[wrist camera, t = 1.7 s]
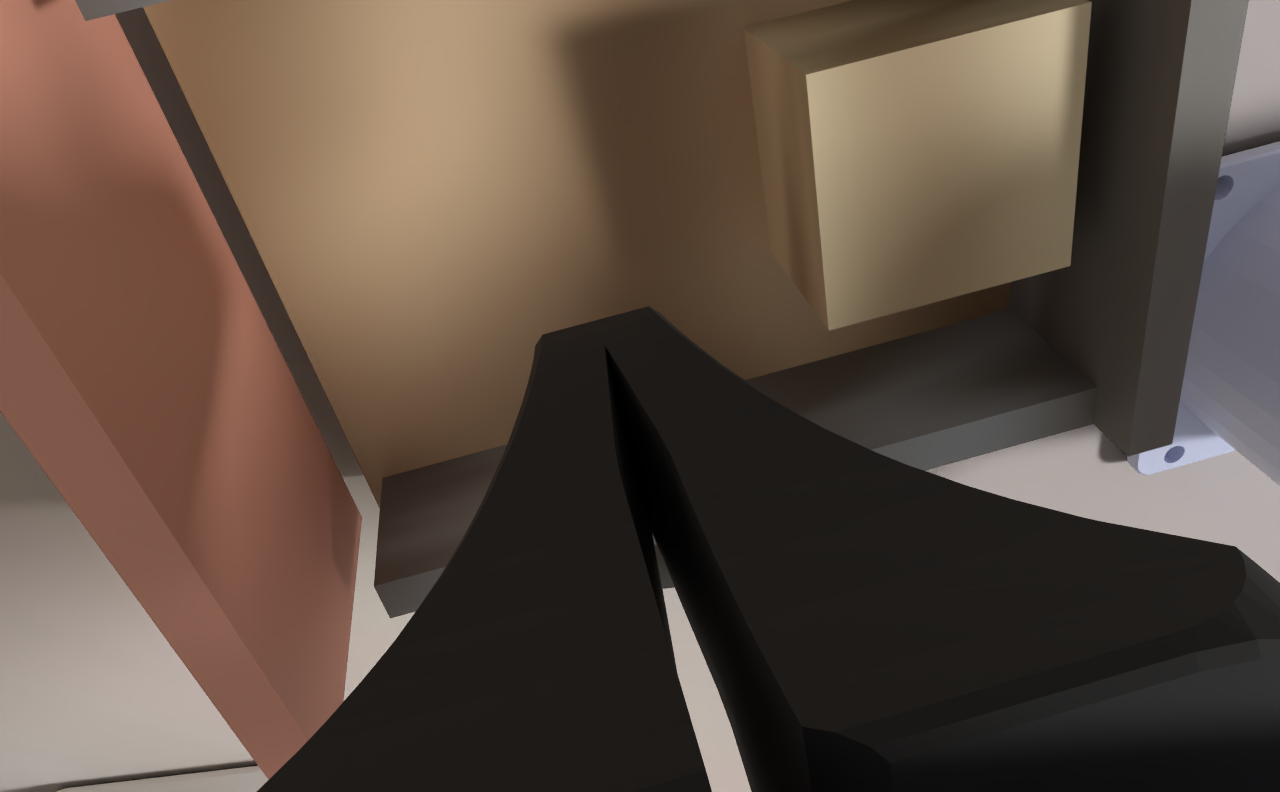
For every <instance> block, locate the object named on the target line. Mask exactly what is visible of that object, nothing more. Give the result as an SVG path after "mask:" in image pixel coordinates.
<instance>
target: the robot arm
mask: <svg viewBox="0 0 1280 792" xmlns="http://www.w3.org/2000/svg"><path fill="white" fill-rule="evenodd" d="M1219 177H1220V179H1219V181H1218V184H1217V187H1216V193H1215V199H1214V205H1213V211H1212V216H1211V222H1210V228H1209V234H1208V240H1207V245H1206V251H1205V257H1204V263H1203V269H1202V274H1201V280H1200V286H1199V292H1198V298H1197V303H1196V309H1195V315H1194V321H1193V327H1192V332H1191V338H1190V344H1189V350H1188V356H1187V361H1186V367H1185V373H1184V379H1183V385H1182V390H1181V396H1180V402H1179V408H1178V414H1177V420H1176V425H1175V431H1174V437H1173V443H1172V444H1171V445H1168V446H1164V447H1161V448H1157V449H1153V450H1150V451H1146V452H1143V453H1139V454H1135V455H1132V456H1127V460H1128V463H1129V464H1130V465H1131V466H1132V467H1133V468H1134V469H1135V470H1136V471H1137V472H1138V473H1139V474H1143V475H1148V474H1154V473H1157V472H1161V471H1165V470H1168V469H1172V468H1175V467H1179V466H1182V465H1186V464H1190V463H1193V462H1197V461H1200V460H1204V459H1207V458H1211V457H1215V456H1218V455H1222V454H1225V453H1229V452H1232V451H1238V452H1239V453H1240V454H1241V455H1243V456H1244V457H1245V458H1246V459H1247V460H1249V461H1250V462H1251V463H1252V464H1254V465H1255V466H1256V467H1257V468H1258V469H1260V470H1261V471H1262V472H1263V473H1265V474H1266V475H1267V476H1268V477H1269V478H1271V479H1272V480H1273V481H1274V482H1276V483H1277V484H1278V485H1279V486H1280V141H1279V142H1275V143H1271V144H1268V145H1264V146H1260V147H1256V148H1253V149H1249V150H1245V151H1241V152H1237V153H1234V154H1230V155H1226V156H1222V158H1221V164H1220V170H1219V176H1218V178H1219ZM653 536H654V539H655V541H656V544H657V546H658V548H659V551H660V553H661V556H662V558H663V560H664V563H665V565H666V568H667V570H668V572H669V575H670V577H671V579H672V582H673V584H674V587H675V589H676V591H677V594H678V596H679V599H680V601H681V603H682V606H683V608H684V610H685V613H686V615H687V618H688V620H689V622H690V625H691V627H692V629H693V632H694V634H695V637H696V639H697V641H698V644H699V646H700V648H701V651H702V653H703V656H704V658H705V660H706V663H707V665H708V668H709V670H710V672H711V675H712V677H713V679H714V682H715V684H716V687H717V689H718V691H719V694H720V697H721V700H722V702H723V705H724V708H725V710H726V713H727V716H728V718H729V721H730V724H731V727H732V730H733V733H734V736H735V739H736V742H737V746H738V749H739V752H740V755H741V758H742V762H743V765H744V768H745V771H746V775H747V778H748V781H749V784H750V787H751V791H752V792H1280V583H1279V582H1278V581H1277V580H1276V579H1274V578H1273V577H1272V576H1271V575H1270V574H1268V573H1267V572H1266V571H1265V570H1264V569H1262V568H1261V567H1260V566H1259V565H1258V564H1256V563H1255V562H1254V561H1253V560H1251V559H1250V558H1249V557H1248V556H1246V555H1245V554H1244V553H1243V552H1241V551H1240V550H1239V549H1238V548H1237V547H1235V546H1230V545H1224V544H1219V543H1213V542H1208V541H1203V540H1197V539H1192V538H1187V537H1181V536H1176V535H1170V534H1165V533H1160V532H1154V531H1149V530H1144V529H1138V528H1133V527H1128V526H1122V525H1117V524H1111V523H1106V522H1101V521H1096V520H1092V519H1087V518H1083V517H1079V516H1075V515H1071V514H1067V513H1063V512H1059V511H1055V510H1051V509H1048V508H1044V507H1040V506H1036V505H1032V504H1028V503H1024V502H1020V501H1016V500H1013V499H1009V498H1006V497H1002V496H999V495H996V494H992V493H989V492H986V491H982V490H979V489H976V488H972V487H969V486H966V485H963V484H960V483H957V482H954V481H952V480H949V479H946V478H943V477H940V476H937V475H935V474H932V473H929V472H926V471H923V470H921V469H918V468H915V467H912V466H909V465H906V464H904V463H901V462H899V461H896V460H894V459H891V458H889V457H886V456H884V455H881V454H879V453H877V452H874V451H872V450H870V449H868V448H866V447H863V446H861V445H859V444H857V443H855V442H853V441H850V440H848V439H846V438H844V437H842V436H840V435H837V434H835V433H833V432H831V431H829V430H827V429H825V428H823V427H821V426H819V425H817V424H815V423H813V422H812V421H810V420H808V419H806V418H804V417H803V416H801V415H799V414H798V413H796V412H794V411H792V410H791V409H789V408H787V407H786V406H784V405H782V404H781V403H779V402H777V401H776V400H774V399H772V398H771V397H769V396H768V395H766V394H765V393H763V392H762V391H760V390H758V389H757V388H755V387H754V386H752V385H751V384H750V383H748V382H747V381H745V380H744V379H742V378H741V377H740V376H738V375H737V374H735V373H734V372H732V371H731V370H730V369H728V368H727V367H725V366H724V365H722V364H721V363H720V362H718V361H717V360H716V359H714V358H713V357H712V356H710V355H709V354H708V353H706V352H705V351H704V350H703V349H701V348H700V347H699V346H698V345H696V344H695V343H694V342H693V341H691V340H690V339H689V338H688V337H687V336H685V335H684V334H683V333H682V332H681V331H679V330H678V329H677V328H676V327H675V326H674V325H673V324H671V323H670V322H669V321H668V320H667V319H666V318H665V317H664V316H663V315H662V314H661V313H659V312H658V311H656V310H654V309H653V308H651V307H649V306H647V307H644V308H640V309H636V310H632V311H629V312H625V313H621V314H617V315H614V316H610V317H606V318H602V319H599V320H595V321H591V322H587V323H584V324H580V325H576V326H572V327H569V328H565V329H561V330H557V331H554V332H550V333H546V334H542V336H541V338H540V339H539V341H538V342H537V344H536V345H535V352H534V358H533V364H532V368H531V373H530V377H529V381H528V384H527V388H526V391H525V395H524V398H523V401H522V405H521V407H520V410H519V413H518V416H517V419H516V421H515V424H514V427H513V430H512V433H511V436H510V438H509V441H508V444H507V446H506V449H505V451H504V454H503V456H502V458H501V461H500V463H499V465H498V467H497V470H496V472H495V474H494V476H493V478H492V481H491V483H490V485H489V487H488V490H487V492H486V494H485V496H484V498H483V501H482V503H481V505H480V507H479V509H478V510H477V512H476V514H475V516H474V518H473V520H472V522H471V524H470V526H469V528H468V529H467V531H466V533H465V535H464V537H463V538H462V540H461V542H460V544H459V545H458V547H457V549H456V550H455V552H454V554H453V555H452V557H451V559H450V561H449V562H448V564H447V566H446V567H445V569H444V570H443V572H442V574H441V575H440V577H439V578H438V580H437V581H436V583H435V584H434V586H433V587H432V589H431V590H430V591H429V593H428V594H427V596H426V597H425V599H424V600H423V602H422V603H421V605H420V606H419V608H418V609H417V611H416V612H415V614H414V615H413V616H412V618H411V619H410V621H409V622H408V623H407V625H406V626H405V628H404V629H403V630H402V632H401V633H400V634H399V636H398V637H397V639H396V640H395V641H394V643H393V644H392V645H391V646H390V648H389V649H388V650H387V651H386V653H385V654H384V655H383V656H382V657H381V659H380V660H379V661H378V662H377V663H376V665H375V666H374V667H373V668H372V669H371V671H370V672H369V673H368V674H367V675H366V677H365V678H364V679H363V680H362V681H361V683H360V684H359V685H358V686H357V687H356V688H355V690H354V691H353V692H352V693H351V694H350V695H349V696H348V697H347V698H346V700H345V701H344V702H343V703H342V704H341V705H340V706H339V707H338V709H337V710H336V711H335V712H334V713H333V714H332V715H331V716H330V718H329V719H328V720H327V721H326V722H325V723H324V724H323V725H322V726H321V727H320V728H319V730H318V731H317V732H316V733H315V734H314V735H313V736H312V737H311V738H310V739H309V740H308V741H307V742H306V743H305V744H304V745H303V746H302V747H301V749H300V750H299V751H298V752H297V753H296V754H295V755H293V756H292V757H291V758H290V759H289V760H288V761H287V762H286V763H285V764H284V765H283V766H282V767H281V768H280V769H279V770H278V771H277V772H276V773H275V774H274V775H273V776H272V777H271V778H270V779H269V780H268V781H267V782H266V783H265V784H264V785H263V786H262V787H261V788H260V789H259V790H258V791H257V792H712V791H711V787H710V784H709V780H708V777H707V773H706V769H705V766H704V763H703V759H702V756H701V753H700V749H699V746H698V742H697V739H696V736H695V732H694V729H693V726H692V722H691V719H690V715H689V712H688V709H687V705H686V702H685V698H684V695H683V692H682V688H681V685H680V681H679V678H678V674H677V669H676V664H675V658H674V652H673V647H672V641H671V635H670V630H669V624H668V618H667V613H666V607H665V601H664V596H663V590H662V584H661V579H660V573H659V568H658V562H657V556H656V551H655V545H654V540H653Z"/></svg>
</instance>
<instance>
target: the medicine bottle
mask: <svg viewBox="0 0 1280 792" xmlns="http://www.w3.org/2000/svg"><path fill="white" fill-rule="evenodd" d="M267 781H268V778H267V777H266V776H265V774H264V773H263V772H262V770H261V769H260V767H259V766H251V767H242V768H234V769H225V770H217V771H208V772H199V773H191V774H182V775H174V776H165V777H157V778H148V779H139V780H131V781H122V782H114V783H105V784H97V785H88V786H79V787H71V788H65V789H62V790H59V791H57V792H257V791H258V790H259V789H260V788H261V787H262V786H263V785H264V784H265V783H266V782H267Z"/></svg>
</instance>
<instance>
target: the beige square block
mask: <svg viewBox="0 0 1280 792" xmlns="http://www.w3.org/2000/svg"><path fill="white" fill-rule="evenodd" d="M1091 6H1092V2H1090V1H1087V0H852V1H848V2H844V3H840V4H836V5H832V6H828V7H824V8H820V9H816V10H812V11H808V12H804V13H800V14H796V15H792V16H788V17H784V18H780V19H776V20H772V21H768V22H764V23H760V24H756V25H753V26H749V27H745V28H744V36H745V44H746V52H747V60H748V68H749V76H750V84H751V93H752V101H753V109H754V117H755V125H756V133H757V141H758V149H759V157H760V165H761V174H762V182H763V190H764V198H765V206H766V214H767V222H768V230H769V238H770V246H771V253H772V254H773V256H774V257H775V258H776V260H777V261H778V262H779V264H780V265H781V266H782V268H783V269H784V271H785V272H786V273H787V275H788V276H789V277H790V279H791V280H792V281H793V283H794V284H795V286H796V287H797V288H798V290H799V291H800V292H801V294H802V295H803V296H804V298H805V299H806V300H807V302H808V303H809V305H810V306H811V307H812V309H813V310H814V311H815V313H816V314H817V315H818V317H819V318H820V319H821V321H822V322H823V324H824V325H825V326H826V328H827V329H828V330H829V331H830V330H833V329H837V328H841V327H844V326H848V325H852V324H856V323H859V322H863V321H867V320H871V319H874V318H878V317H882V316H886V315H889V314H893V313H897V312H900V311H904V310H908V309H912V308H915V307H919V306H923V305H927V304H930V303H934V302H938V301H941V300H945V299H949V298H953V297H956V296H960V295H964V294H968V293H971V292H975V291H979V290H982V289H986V288H990V287H994V286H997V285H1001V284H1005V283H1009V282H1012V281H1016V280H1020V279H1024V278H1027V277H1031V276H1035V275H1038V274H1042V273H1046V272H1050V271H1053V270H1057V269H1061V268H1065V267H1068V266H1070V265H1071V252H1072V240H1073V228H1074V215H1075V203H1076V191H1077V178H1078V166H1079V154H1080V142H1081V129H1082V117H1083V105H1084V92H1085V80H1086V68H1087V55H1088V43H1089V31H1090V18H1091Z"/></svg>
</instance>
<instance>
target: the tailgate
mask: <svg viewBox="0 0 1280 792" xmlns="http://www.w3.org/2000/svg"><path fill="white" fill-rule="evenodd" d="M0 411H1V413H2V414H3V415H4V417H5V418H6V420H7V421H8V422H9V424H10V425H11V426H12V428H13V429H14V431H15V432H16V433H17V435H18V436H19V437H20V439H21V440H22V442H23V443H24V444H25V446H26V447H27V448H28V450H29V451H30V453H31V454H32V455H33V457H34V458H35V459H36V461H37V462H38V464H39V465H40V466H41V468H42V469H43V470H44V472H45V473H46V475H47V476H48V477H49V479H50V480H51V481H52V483H53V484H54V486H55V487H56V488H57V490H58V491H59V492H60V494H61V495H62V497H63V498H64V499H65V501H66V502H67V503H68V505H69V506H70V508H71V509H72V510H73V512H74V513H75V514H76V516H77V517H78V519H79V520H80V521H81V523H82V524H83V525H84V527H85V528H86V530H87V531H88V532H89V534H90V535H91V536H92V538H93V539H94V541H95V542H96V543H97V545H98V546H99V547H100V549H101V550H102V552H103V553H104V554H105V556H106V557H107V558H108V560H109V561H110V563H111V564H112V565H113V567H114V568H115V569H116V571H117V572H118V574H119V575H120V576H121V578H122V579H123V580H124V582H125V583H126V585H127V586H128V587H129V589H130V590H131V591H132V593H133V594H134V596H135V597H136V598H137V600H138V601H139V602H140V604H141V605H142V607H143V608H144V609H145V611H146V612H147V613H148V615H149V616H150V618H151V619H152V620H153V622H154V623H155V624H156V626H157V627H158V629H159V630H160V631H161V633H162V634H163V635H164V637H165V638H166V640H167V641H168V642H169V644H170V645H171V646H172V648H173V649H174V651H175V652H176V653H177V655H178V656H179V657H180V659H181V660H182V662H183V663H184V664H185V666H186V667H187V668H188V670H189V671H190V673H191V674H192V675H193V677H194V678H195V679H196V681H197V682H198V684H199V685H200V686H201V688H202V689H203V690H204V692H205V693H206V695H207V696H208V697H209V699H210V700H211V701H212V703H213V704H214V706H215V707H216V708H217V710H218V711H219V712H220V714H221V715H222V717H223V718H224V719H225V721H226V722H227V723H228V725H229V726H230V728H231V729H232V730H233V732H234V733H235V734H236V736H237V737H238V739H239V740H240V741H241V743H242V744H243V745H244V747H245V748H246V750H247V751H248V752H249V754H250V755H251V756H252V758H253V759H254V761H255V762H256V763H257V765H258V766H259V767H260V769H261V770H262V772H263V773H264V774H265V776H266V777H267V778H268V780H269V779H270V778H271V777H272V776H273V775H274V774H275V773H276V772H277V771H278V770H279V769H280V768H281V767H282V766H283V765H284V764H285V763H286V762H287V761H288V760H289V759H290V758H291V757H292V756H293V755H295V754H296V753H297V752H298V751H299V750H300V749H301V747H302V746H303V745H304V744H305V743H306V742H307V741H308V740H309V739H310V738H311V737H312V736H313V735H314V734H315V733H316V732H317V731H318V730H319V728H320V727H321V726H322V725H323V724H324V723H325V722H326V721H327V720H328V719H329V718H330V716H331V715H332V714H333V713H334V712H335V711H336V710H337V709H338V707H339V706H340V705H341V704H342V703H343V699H344V690H345V680H346V670H347V660H348V650H349V640H350V630H351V620H352V611H353V601H354V591H355V581H356V571H357V561H358V551H359V541H360V532H361V522H362V517H361V515H360V513H359V511H358V508H357V506H356V504H355V502H354V500H353V498H352V496H351V494H350V492H349V490H348V488H347V486H346V484H345V482H344V480H343V478H342V476H341V474H340V472H339V470H338V468H337V466H336V464H335V462H334V460H333V458H332V456H331V454H330V451H329V449H328V447H327V445H326V443H325V441H324V439H323V437H322V435H321V433H320V431H319V429H318V427H317V425H316V423H315V421H314V419H313V417H312V415H311V413H310V411H309V409H308V407H307V405H306V403H305V401H304V399H303V396H302V394H301V392H300V390H299V388H298V386H297V384H296V382H295V380H294V378H293V376H292V374H291V372H290V370H289V368H288V366H287V364H286V362H285V360H284V358H283V356H282V354H281V352H280V350H279V348H278V346H277V344H276V341H275V339H274V337H273V335H272V333H271V331H270V329H269V327H268V325H267V323H266V321H265V319H264V317H263V315H262V313H261V311H260V309H259V307H258V305H257V303H256V301H255V299H254V297H253V295H252V293H251V291H250V289H249V287H248V284H247V282H246V280H245V278H244V276H243V274H242V272H241V270H240V268H239V266H238V264H237V262H236V260H235V258H234V256H233V254H232V252H231V250H230V248H229V246H228V244H227V242H226V240H225V238H224V236H223V234H222V232H221V229H220V227H219V225H218V223H217V221H216V219H215V217H214V215H213V213H212V211H211V209H210V207H209V205H208V203H207V201H206V199H205V197H204V195H203V193H202V191H201V189H200V187H199V185H198V183H197V181H196V179H195V177H194V175H193V172H192V170H191V168H190V166H189V164H188V162H187V160H186V158H185V156H184V154H183V152H182V150H181V148H180V146H179V144H178V142H177V140H176V138H175V136H174V134H173V132H172V130H171V128H170V126H169V124H168V122H167V120H166V117H165V115H164V113H163V111H162V109H161V107H160V105H159V103H158V101H157V99H156V97H155V95H154V93H153V91H152V89H151V87H150V85H149V83H148V81H147V79H146V77H145V75H144V73H143V71H142V69H141V67H140V65H139V63H138V60H137V58H136V56H135V54H134V52H133V50H132V48H131V46H130V44H129V42H128V40H127V38H126V36H125V34H124V32H123V30H122V28H121V26H120V24H119V22H118V20H117V18H116V16H115V14H113V15H109V16H105V17H101V18H97V19H93V20H89V21H85V19H84V17H83V15H82V13H81V11H80V9H79V7H78V5H77V3H76V1H75V0H0Z"/></svg>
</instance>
